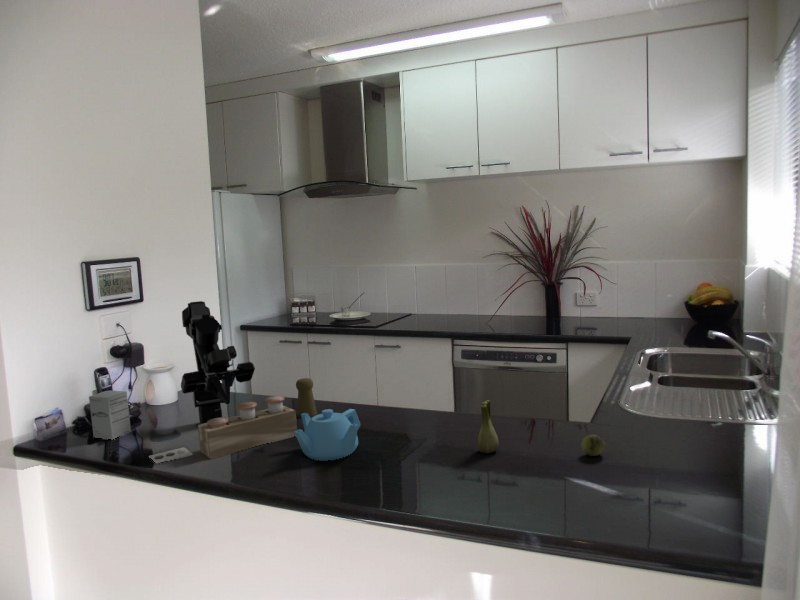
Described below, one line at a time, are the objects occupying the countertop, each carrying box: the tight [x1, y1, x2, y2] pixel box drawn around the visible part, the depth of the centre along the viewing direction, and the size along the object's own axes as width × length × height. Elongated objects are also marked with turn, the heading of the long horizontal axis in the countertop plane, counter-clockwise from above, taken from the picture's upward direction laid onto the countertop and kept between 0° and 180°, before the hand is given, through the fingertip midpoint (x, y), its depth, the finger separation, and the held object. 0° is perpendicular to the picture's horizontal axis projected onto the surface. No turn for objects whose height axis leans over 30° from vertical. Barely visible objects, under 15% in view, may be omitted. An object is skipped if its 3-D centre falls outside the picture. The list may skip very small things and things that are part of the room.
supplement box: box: [88, 390, 132, 441], centre depth 180 cm, size 7×7×13 cm
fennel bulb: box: [477, 400, 500, 454], centre depth 147 cm, size 6×5×12 cm
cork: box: [295, 377, 318, 418], centre depth 189 cm, size 6×6×11 cm
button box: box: [197, 404, 298, 460], centre depth 165 cm, size 8×24×7 cm, turn 126°
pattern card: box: [148, 446, 193, 464], centre depth 159 cm, size 7×9×1 cm
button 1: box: [207, 416, 229, 429], centre depth 160 cm, size 5×5×5 cm
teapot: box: [294, 408, 362, 462], centre depth 153 cm, size 15×15×11 cm
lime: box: [580, 434, 606, 457], centre depth 140 cm, size 4×5×5 cm
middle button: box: [236, 401, 258, 421], centre depth 164 cm, size 5×5×5 cm
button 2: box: [264, 395, 285, 415], centre depth 169 cm, size 5×5×5 cm
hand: (228, 403), depth 161 cm, fingers closed
